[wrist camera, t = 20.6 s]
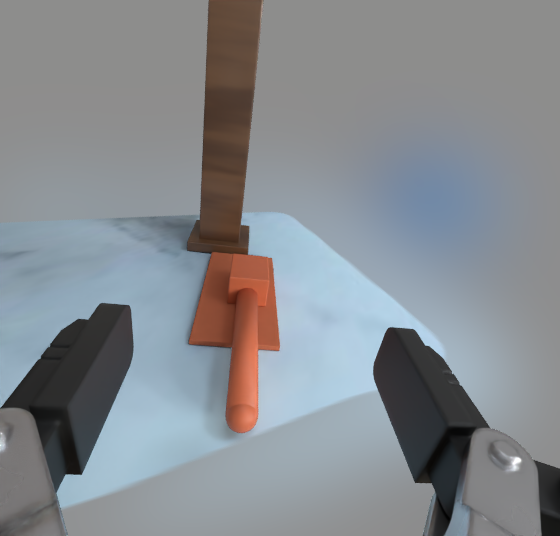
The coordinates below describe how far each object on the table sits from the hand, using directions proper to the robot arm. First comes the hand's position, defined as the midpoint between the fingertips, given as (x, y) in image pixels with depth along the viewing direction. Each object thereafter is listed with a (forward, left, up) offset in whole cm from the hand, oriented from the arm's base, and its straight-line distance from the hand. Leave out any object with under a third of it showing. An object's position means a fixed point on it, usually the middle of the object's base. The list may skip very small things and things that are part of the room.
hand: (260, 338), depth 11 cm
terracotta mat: (+11, +11, -9) cm, 18 cm away
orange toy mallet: (+7, +7, -8) cm, 13 cm away
